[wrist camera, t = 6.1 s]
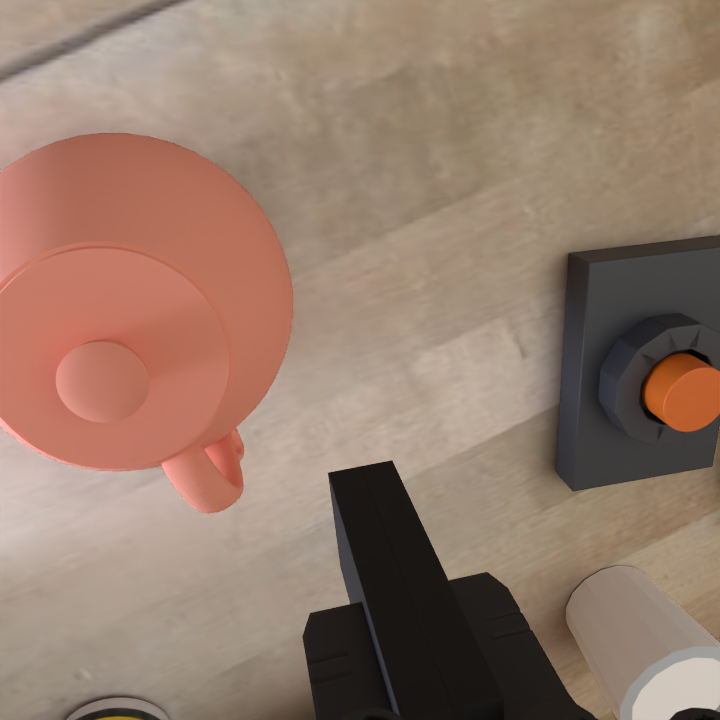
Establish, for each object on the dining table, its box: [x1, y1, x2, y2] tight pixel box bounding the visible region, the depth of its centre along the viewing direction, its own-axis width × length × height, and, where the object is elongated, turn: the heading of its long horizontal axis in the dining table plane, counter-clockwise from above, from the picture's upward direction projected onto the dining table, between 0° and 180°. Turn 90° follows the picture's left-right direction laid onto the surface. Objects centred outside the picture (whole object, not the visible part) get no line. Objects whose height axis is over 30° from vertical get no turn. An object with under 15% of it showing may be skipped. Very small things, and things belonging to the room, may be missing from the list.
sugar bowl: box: [0, 133, 293, 513], centre depth 24 cm, size 12×14×10 cm
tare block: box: [556, 235, 720, 491], centre depth 33 cm, size 12×8×4 cm, turn 4°
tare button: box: [642, 353, 720, 432], centre depth 31 cm, size 3×3×2 cm
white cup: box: [566, 566, 720, 720], centre depth 38 cm, size 7×7×7 cm
